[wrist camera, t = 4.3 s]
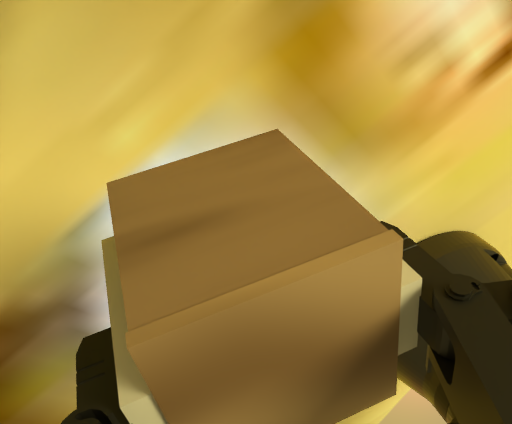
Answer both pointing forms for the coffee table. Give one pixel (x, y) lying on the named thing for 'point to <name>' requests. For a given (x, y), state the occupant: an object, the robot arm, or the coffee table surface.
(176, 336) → the walnut block
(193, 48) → the coffee table surface
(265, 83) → the coffee table surface
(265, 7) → the coffee table surface
